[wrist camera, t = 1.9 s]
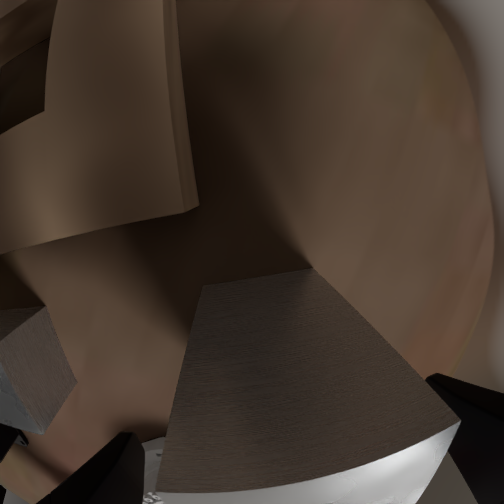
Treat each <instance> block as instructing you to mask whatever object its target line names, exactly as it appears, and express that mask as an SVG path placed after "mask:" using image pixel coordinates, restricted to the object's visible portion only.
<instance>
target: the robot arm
mask: <svg viewBox="0 0 504 504" xmlns="http://www.w3.org/2000/svg"><path fill="white" fill-rule="evenodd" d="M425 381H426V382H427V384H428V385H429V386H430V387H431V388H432V389H433V390H434V391H435V392H436V393H437V394H438V395H439V396H440V398H441V399H442V400H443V401H444V402H445V403H446V404H447V405H448V406H449V407H450V408H451V410H452V411H453V412H454V413H455V414H456V415H457V416H458V417H459V418H460V420H461V422H460V425H459V427H458V429H457V431H456V433H455V436H454V438H453V440H452V442H451V444H450V446H449V448H448V450H447V451H448V452H449V454H450V455H451V457H452V459H453V461H454V462H455V464H456V466H457V467H458V469H459V471H460V472H461V474H462V476H463V478H464V479H465V481H466V483H467V485H468V486H469V488H470V490H471V492H472V493H473V495H474V497H475V499H476V501H477V502H478V504H504V393H500V392H497V391H494V390H490V389H487V388H483V387H480V386H477V385H474V384H470V383H467V382H464V381H461V380H458V379H455V378H452V377H449V376H446V375H443V374H440V373H435V374H433V375H430V376H428V377H427V378H426V379H425ZM13 443H16V444H19V445H22V446H25V447H27V446H28V444H29V442H28V441H27V440H26V438H25V437H24V435H23V434H22V433H21V431H20V430H19V429H18V428H14V427H11V426H8V425H5V424H2V423H0V463H1V462H2V460H3V459H4V457H5V456H6V454H7V452H8V451H9V449H10V448H11V446H12V445H13ZM144 473H145V450H144V447H143V446H142V444H141V442H140V441H139V439H138V437H137V436H136V434H135V433H134V432H126V431H122V432H120V433H119V434H118V435H116V436H115V437H114V438H113V439H112V440H111V441H110V442H109V443H108V444H106V445H105V446H104V447H103V448H102V449H101V450H100V451H99V452H97V453H96V454H95V455H94V456H93V457H92V458H91V459H89V460H88V461H87V462H86V463H85V464H84V465H82V466H81V467H80V468H79V469H78V470H77V471H75V472H74V473H73V474H72V475H71V476H70V477H68V478H67V479H66V480H65V481H64V482H62V483H61V484H60V485H59V486H58V487H56V488H55V489H54V490H53V491H51V493H50V494H48V495H46V496H45V497H44V498H43V499H41V500H40V501H39V502H37V503H36V504H143V496H144ZM5 494H6V489H5V488H4V487H3V486H2V485H0V504H3V501H4V497H5Z"/></svg>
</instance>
